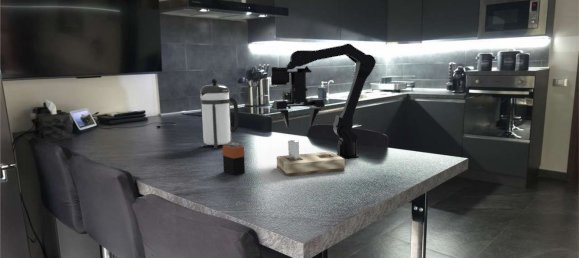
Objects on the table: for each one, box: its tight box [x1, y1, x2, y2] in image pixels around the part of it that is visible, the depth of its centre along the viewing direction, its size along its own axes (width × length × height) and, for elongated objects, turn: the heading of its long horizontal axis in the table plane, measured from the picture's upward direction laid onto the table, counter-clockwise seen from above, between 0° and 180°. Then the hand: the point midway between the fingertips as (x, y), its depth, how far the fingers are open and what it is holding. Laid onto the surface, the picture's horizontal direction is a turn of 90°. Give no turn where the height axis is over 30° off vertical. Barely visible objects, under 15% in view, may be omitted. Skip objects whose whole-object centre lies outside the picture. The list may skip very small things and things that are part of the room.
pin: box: [287, 139, 300, 161], centre depth 132 cm, size 4×4×9 cm
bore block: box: [276, 151, 346, 177], centre depth 134 cm, size 20×12×4 cm, turn 107°
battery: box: [222, 141, 246, 176], centre depth 131 cm, size 4×7×10 cm, turn 42°
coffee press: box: [199, 78, 240, 150], centre depth 176 cm, size 17×16×30 cm
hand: (299, 126), depth 149 cm, fingers open, 9 cm apart
